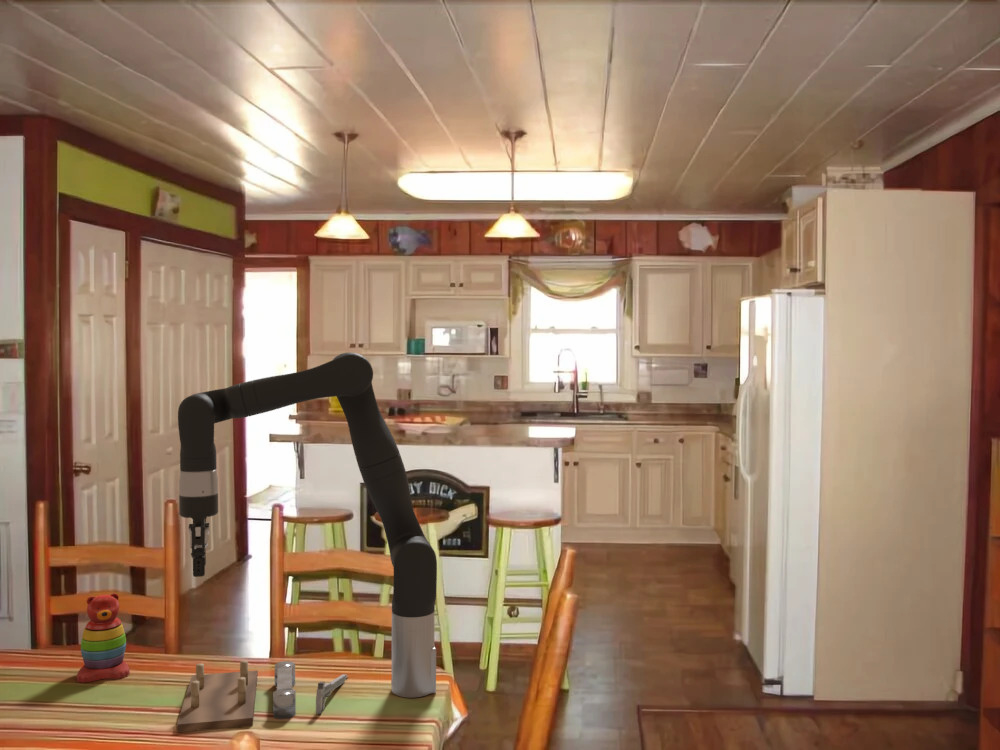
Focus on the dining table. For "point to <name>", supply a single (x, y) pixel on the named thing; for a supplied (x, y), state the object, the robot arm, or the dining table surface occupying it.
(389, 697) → the dining table surface
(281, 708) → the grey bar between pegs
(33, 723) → the dining table surface
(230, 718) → the board
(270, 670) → the dining table surface
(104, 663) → the stacking bear
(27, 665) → the dining table surface
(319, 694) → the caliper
